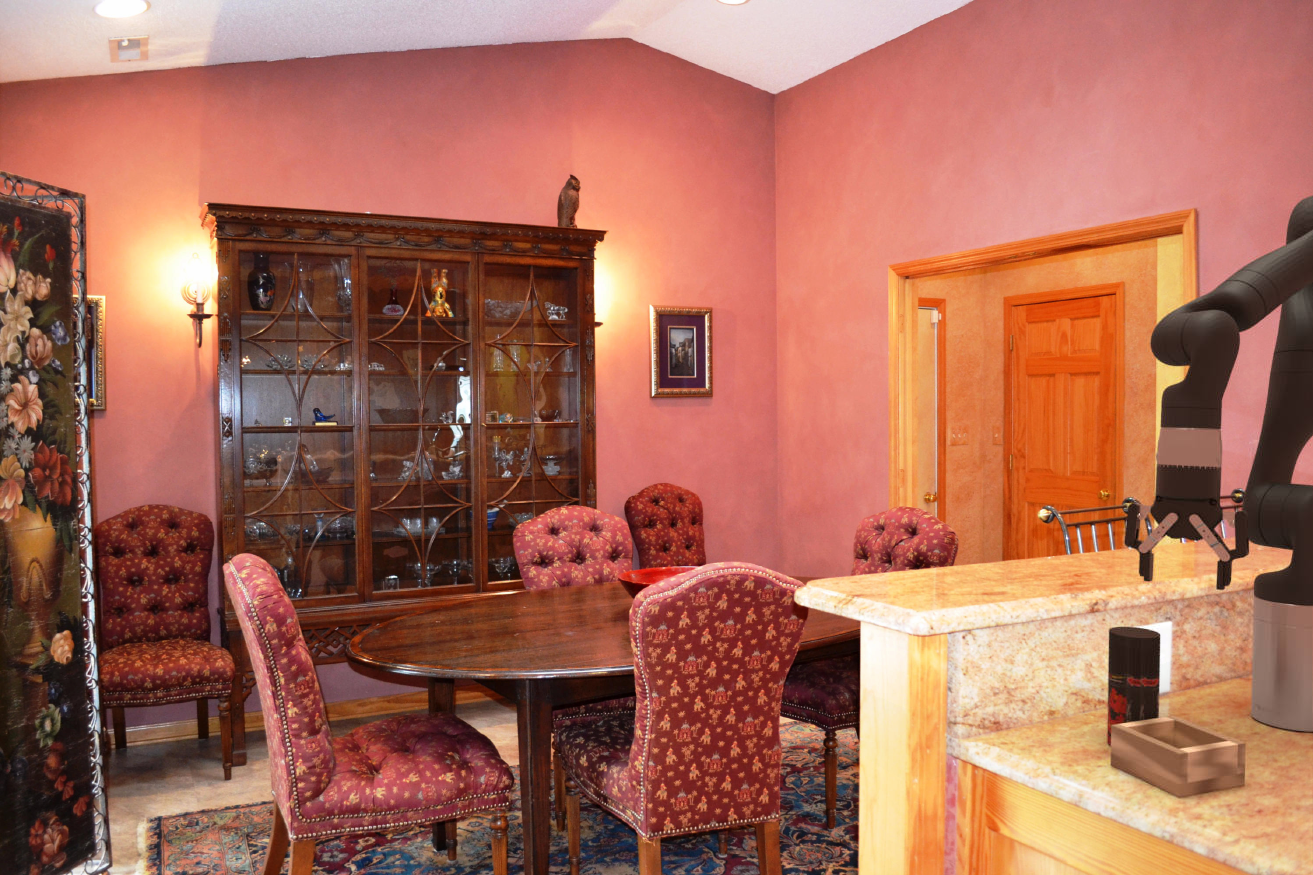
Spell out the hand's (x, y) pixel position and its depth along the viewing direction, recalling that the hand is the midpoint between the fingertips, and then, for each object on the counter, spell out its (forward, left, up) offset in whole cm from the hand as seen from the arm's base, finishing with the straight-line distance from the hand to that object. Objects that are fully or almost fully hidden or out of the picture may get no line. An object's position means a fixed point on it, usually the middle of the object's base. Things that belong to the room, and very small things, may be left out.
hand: (1183, 584), depth 125 cm
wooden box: (+11, +9, -21) cm, 25 cm away
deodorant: (+9, 0, -21) cm, 22 cm away
